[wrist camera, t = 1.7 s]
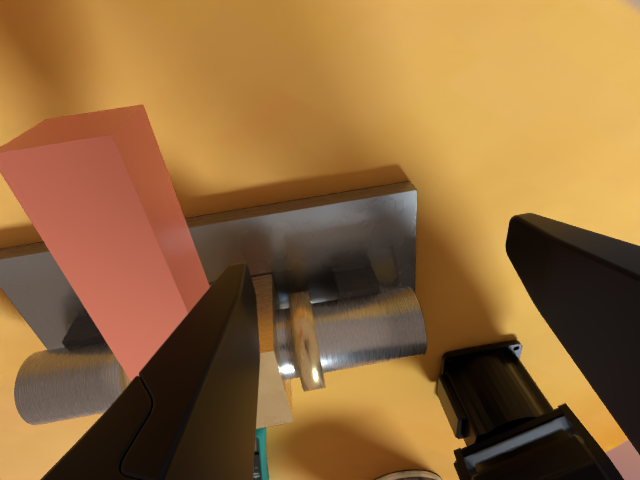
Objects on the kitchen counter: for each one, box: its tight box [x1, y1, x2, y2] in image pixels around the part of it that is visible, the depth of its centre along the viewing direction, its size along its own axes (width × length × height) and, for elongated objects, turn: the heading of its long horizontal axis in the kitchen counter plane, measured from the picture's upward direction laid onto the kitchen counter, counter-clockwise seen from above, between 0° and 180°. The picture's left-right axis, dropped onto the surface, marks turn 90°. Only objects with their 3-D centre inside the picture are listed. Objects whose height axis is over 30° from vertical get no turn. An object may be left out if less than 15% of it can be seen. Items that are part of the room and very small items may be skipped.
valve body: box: [0, 181, 427, 429], centre depth 23 cm, size 24×14×8 cm, turn 97°
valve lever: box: [0, 105, 210, 381], centre depth 15 cm, size 16×3×3 cm, turn 7°
